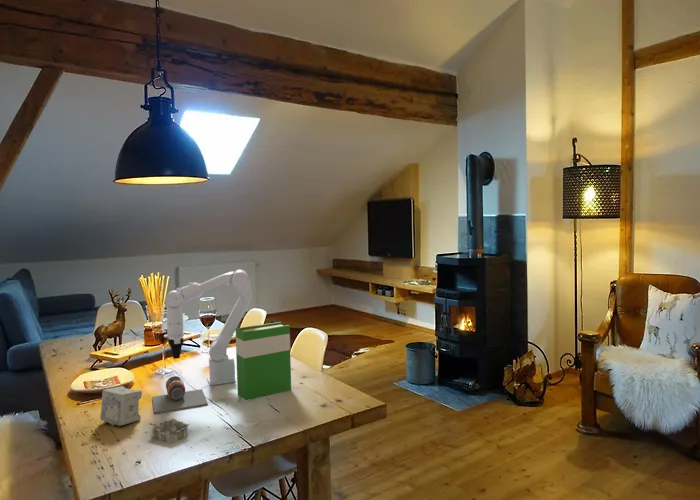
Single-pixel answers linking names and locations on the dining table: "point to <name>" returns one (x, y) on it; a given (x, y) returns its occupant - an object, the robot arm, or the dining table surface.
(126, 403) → the incense holder
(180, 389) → the supplement bottle
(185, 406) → the mat
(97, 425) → the dining table surface
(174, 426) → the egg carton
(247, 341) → the hardback book
